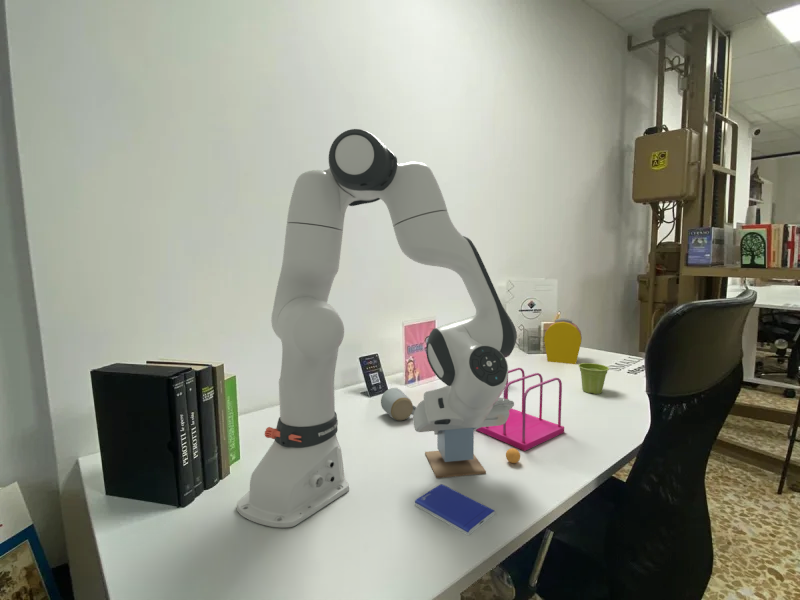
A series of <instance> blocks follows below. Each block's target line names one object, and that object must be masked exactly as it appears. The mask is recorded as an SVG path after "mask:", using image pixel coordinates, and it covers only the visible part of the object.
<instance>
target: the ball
mask: <svg viewBox="0 0 800 600" xmlns="http://www.w3.org/2000/svg"><path fill="white" fill-rule="evenodd" d="M505 459H506V460H507V461H508V462H509V463H510V464H517V463H519V461H520V459H521V453H520V452H519V450H518V448H515V447H512V448H508V449H507V450H506V452H505Z"/></svg>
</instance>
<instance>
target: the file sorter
mask: <svg viewBox="0 0 800 600" xmlns="http://www.w3.org/2000/svg"><path fill="white" fill-rule="evenodd" d="M516 371H520V372H521V377H520V378H517V379H516V378H515V379H513V380H511V381H509V377H508V378H507V382H506V385H505V388H504V390H503V398H504V399H509V387H510V386H511V385H512V384H515V383H518V382H520V381H521V383H522V384H521V390H522V391H521V393H522V394H521V411H520V410H517V409H514V408H513V407H512V408H511V409H510V410H509V417H508V419H507V421H506V423H505V424H503V425H500V426H488V427H481V428H478V429H476V431H477V432H480V433H481V434H484V435H487V436H489V437H492V438H494V439H496V440H499V441H501V442H503V443H506V444H507V445H509V446H512V447H513V448H515V449H519V450H521V451H523V452H526V451H528V450H529V449H532V448H534V447H536V446H539V445H541V444H543V443H544V442H547V441H549V440H551V439H553V438H555V437H558V436H559V435H562V434H564V433H565V426H563V425H562V423H561V421H562V400H563V399H562V394H563V393H562V392H563V382H562V379H561V378H559V377H553V378H551V379H547V380H545V381H544V378H543V376H542V374H541V373H539V372H535V373H531V374H528V375H525V374H526V373H525V371H524V369H523V368H522V367H516V368H513V369H512V368H511V369H510V370H509V369H508V374H510V373H514V372H516ZM535 376H536V377H537V376H539V380H540V382H539V383H537V384H535V385H532V386H530V387H528V388H527V389H526V388H525V386H526V385H525V382H526V381H525V380H526V379H530V378H533V377H535ZM555 381H557V382H558V410H557V411H558V412H557V413H558V414H557V415H558V416H557V417H558V418H557V419H558V420H557V423H554V422H552V421H549V420H546V419H543V385H546V384H549V383H552V382H555ZM536 388H539V413H538V415H539V416H538V417H537V416H534V415H532V414H529V413H527V412H526V411H527V410H526V403H527V402H526V401H527V396H528V394H529V393H530V391H531V390H533V389H536ZM525 389H526V390H525Z"/></svg>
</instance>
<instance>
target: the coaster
mask: <svg viewBox="0 0 800 600" xmlns="http://www.w3.org/2000/svg"><path fill="white" fill-rule="evenodd" d="M424 455H425V457H426V459H427V461H428V463H429V465H430V467H431V470H432V472H433V474H434V476H435V478H436V479H438V478H439V479H441V478H442V479H443V478H451V477H461V476H472V475H473V476H475V475H484V474H485V475H486V473H487V470H486V469H485V468H484V466H483V465H482V464H481V462H480V461H479V458H477V457H476V455H475V454H474V459H471V460H461V461H450V462H445V461H444V459H443V458H442V456H441V454H440V452H439V450H432V451H424Z"/></svg>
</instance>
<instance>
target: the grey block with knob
mask: <svg viewBox="0 0 800 600" xmlns="http://www.w3.org/2000/svg"><path fill="white" fill-rule="evenodd" d="M474 432H475V431H474V428H464V429H452V430H442V433H441V434H438V435H437V438H436V439H437V440H436V441H437V442H436V443H437V447H436V448H437V451H439V452H440V454H441V456H442V458H443V459H444V461H445V462H450V461H461V460H471V459H474V455H475V454H474V450H475V449H474V446H475V445H474V444H475V443H474V442H475V441H474V440H475V437H474V435H475V434H474Z"/></svg>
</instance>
